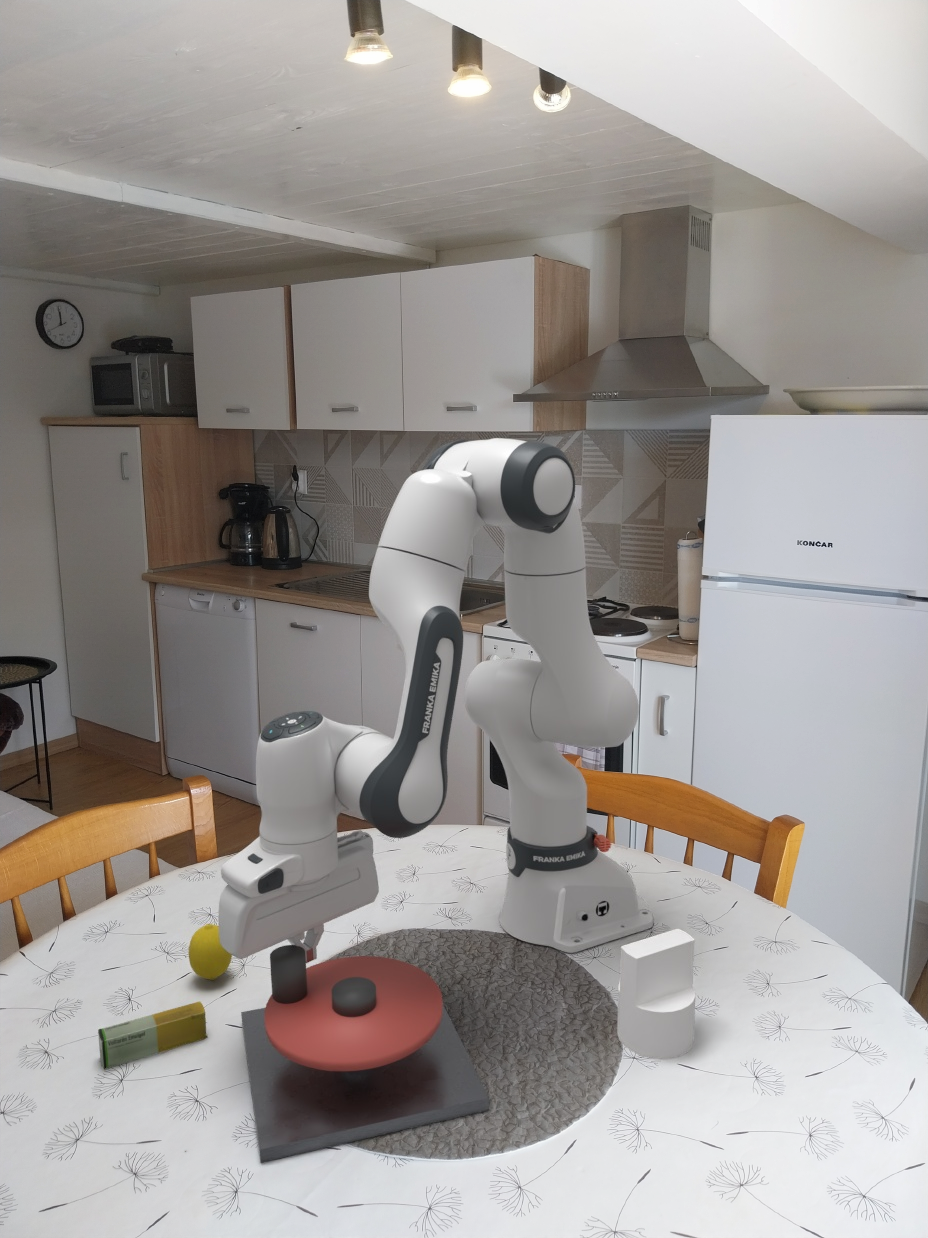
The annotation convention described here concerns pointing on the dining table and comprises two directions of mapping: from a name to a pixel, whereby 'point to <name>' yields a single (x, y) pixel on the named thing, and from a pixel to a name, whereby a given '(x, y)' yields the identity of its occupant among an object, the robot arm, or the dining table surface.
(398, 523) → the robot arm
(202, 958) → the lemon
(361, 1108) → the valve stand
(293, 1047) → the handwheel
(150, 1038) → the medication box
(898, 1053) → the dining table surface
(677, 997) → the base with upright slab
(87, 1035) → the dining table surface
